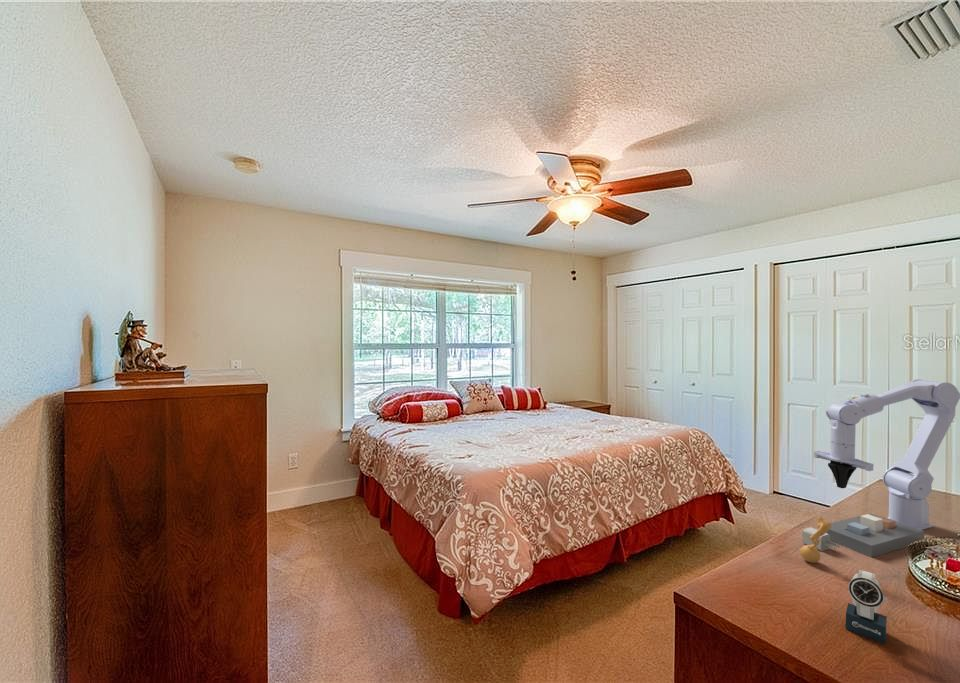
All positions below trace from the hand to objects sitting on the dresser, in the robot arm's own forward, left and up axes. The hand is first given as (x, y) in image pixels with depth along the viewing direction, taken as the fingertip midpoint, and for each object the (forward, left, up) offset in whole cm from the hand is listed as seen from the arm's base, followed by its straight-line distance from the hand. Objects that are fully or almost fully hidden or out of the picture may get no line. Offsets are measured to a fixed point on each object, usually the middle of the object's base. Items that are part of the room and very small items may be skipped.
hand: (841, 487), depth 128 cm
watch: (+51, +32, -11) cm, 61 cm away
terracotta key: (-1, +10, -9) cm, 14 cm away
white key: (+5, +10, -8) cm, 14 cm away
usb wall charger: (+24, +9, -11) cm, 28 cm away
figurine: (+34, +13, -11) cm, 38 cm away
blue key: (+11, +10, -9) cm, 18 cm away
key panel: (+5, +10, -10) cm, 15 cm away
